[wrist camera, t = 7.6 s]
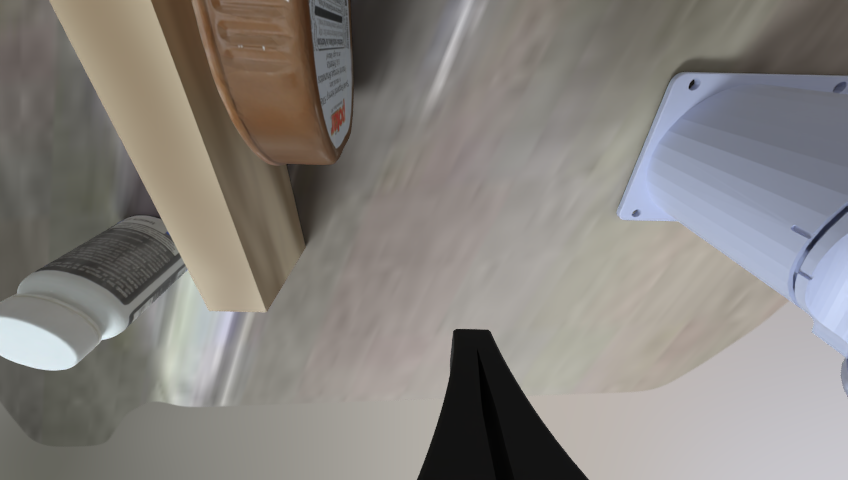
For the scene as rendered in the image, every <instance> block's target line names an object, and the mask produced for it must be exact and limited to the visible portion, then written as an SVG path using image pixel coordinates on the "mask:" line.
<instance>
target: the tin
mask: <svg viewBox="0 0 848 480" xmlns="http://www.w3.org/2000/svg"><path fill="white" fill-rule="evenodd" d="M192 4H193V8H194V12H195V16H196V20H197V24H198V28H199V32H200V36H201V39H202V43H203V46H204V49H205V53H206V56H207V59H208V63H209V66H210V69H211V72H212V75H213V79H214V81H215V84H216V87H217V90H218V92H219V94H220V97H221V99H222V101H223V103H224V105H225V107H226V109H227V112H228V114H229V116H230V118H231V120H232V122H233V124H234V126H235V127H236V129H237V130H238V132H239V133H240V135H241V137H242V138H243V140H244V141H245V143H246V144H247V145H248V146H249V147H250V149H251V150H252V152H254V153H255V154H256V155H257V156H258V157H259V158H260V159H262V160H263V161H265V162H266V163H268V164H270V165H275V166H281V165H285V164H309V165H331V164H334V163H335V162H336V161H337V160H338V159H339V157H340V155H341V153H342V151H343V148H344V146H345V145H346V143H347V141H348V139H349V136H350V133H351V127H352V116H353V90H354V82H353V50H352V30H351V6H350V0H192Z"/></svg>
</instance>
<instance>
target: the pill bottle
mask: <svg viewBox="0 0 848 480" xmlns="http://www.w3.org/2000/svg"><path fill="white" fill-rule="evenodd" d="M187 270H188V269H187V267H186V265H185V263H184V261H183V259H182V257H181V255H180V253H179V252H178V250H177V248H176V246H175V244H174V242H173V240H172V238H171V236H170V234H169V232H168V230H167V228H166V226H165V224H164V222H163V220H162V219H159V218H156V217H151V216H141V215H137V216H132V217H129V218H127V219H125V220H123V221H121V222H119V223H117V224H116V225H114V226H112V227H111V228H109V229H108V230H106V231H104V232H102V233H101V234H99V235H97V236H95V237H94V238H92V239H90V240H89V241H87V242H85V243H83V244H82V245H80V246H78V247H77V248H75V249H73V250H72V251H70V252H68V253H66V254H65V255H63V256H61V257H60V258H58V259H56V260H55V261H53V262H51V263H49V264H48V265H46V266H44V267H43V268H41V269H39V270H37V271H35V272H33V273H32V274H30V275H29V276H28V277H26V278H25V279H24V280H23V281H22V282H21V283H20V285H19V287H18V290H17V294H16V295H13V296H11V297H9V298H7V299H5V300H3V301H1V302H0V355H1V356H2V357H4V358H6V359H9V360H11V361H13V362H16V363H19V364H22V365H26V366H29V367H33V368H37V369H43V370H64V369H68V368H71V367H73V366H74V365H76V364H77V363H78V362H79V361H80V360H82V359H83V358H84V357H85V356H86V355H87V354H88V353H89V352H90V351H92V350H93V349H94V348H95V347H96V345H98V344H99V343H100V341H101V340H104V339H108V338H112V337H114V336H116V335H118V334H119V333H121V332H122V331H124V330H125V329H126V328H127V327H128V326H129V325H130V324H131V323H132V322H133V321H134V320H135V319H136V318H137V317H138V316H139V315H140V314H141V313H142V312H144V311H145V310H146V309H147V308H148V307H149V306H150V305H151V304H152V303H153V302H154V301H155V300H156V299H157V298H158V297H159V296H160V295H161V294H162V293H164V292H165V291H166V290H167V289H168V288H169V287H170V286H171V285H172V284H173V283H174V282H175V281H176V280H177V279H178V278H180V277H181V276H182V274H184V273H185V272H186V271H187Z"/></svg>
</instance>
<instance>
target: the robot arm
mask: <svg viewBox="0 0 848 480" xmlns="http://www.w3.org/2000/svg"><path fill="white" fill-rule="evenodd" d="M692 80H695V82H694V85H693V86H692V87H691V88H690V89H689V88H688V87H689V84H690V82H691V81H692ZM836 85H837V86H836ZM835 86H836V88H835V89H834V87H835ZM833 89H834V90H833ZM635 210H637V211H636V212H635V213H634V214H632V213H633V211H635ZM617 216H619V217H620V218H621V219H623V220H650V221H678V222H680V223H681V224H683V225H684V226H685V227H687V228H688V229H690V230H691V231H692V232H694V233H695V234H697V235H698V236H699V237H701V238H702V239H704V240H705V241H706V242H708V243H709V244H711V245H712V246H714V247H715V248H716V249H718V250H719V251H721V252H722V253H723V254H725V255H726V256H728V257H729V258H730V259H732V260H733V261H735V262H736V263H737V264H739V265H740V266H742V267H743V268H744V269H746V270H747V271H749V272H750V273H752V274H753V275H754V276H756V277H757V278H759V279H760V280H761V281H763V282H764V283H766V284H767V285H768V286H770V287H771V288H773V289H774V290H775V291H777V292H778V293H780V294H781V295H782V296H784V297H785V298H787V299H788V300H790V301H791V302H792V303H794V304H795V305H797V306H798V307H800V308H801V309H803V310H804V311H805V312H806V313H807V314H809V315H810V316H811V317H812V318H813V321H814V326H813V328H812V333H814V334H815V335H816V336H818V337H819V338H821V339H822V340H823V341H824V342H826V343H827V344H828V345H830V346H831V347H833V348H834V349H835V350H836V351H838V352H839V353H840V354H842V355H843V356H844V357H846V358H845V359H844V361H843V363H842V368H841V379H842V384H843V388H844V391H845V392H846V395H847V397H848V76H841V75H797V74H753V73H708V72H681V73H678V74H677V75H675V76H674V77H673V78H672V79H671V81H670V83H669V85H668V87H667V90H666V92H665V94H664V97H663V99H662V102H661V104H660V107H659V109H658V112H657V114H656V116H655V119H654V121H653V124H652V126H651V129H650V131H649V134H648V136H647V138H646V141H645V143H644V146H643V148H642V151H641V153H640V156H639V158H638V160H637V163H636V165H635V168H634V170H633V173H632V175H631V178H630V180H629V182H628V185H627V187H626V190H625V192H624V195H623V197H622V200H621V202H620V204H619V207H618V209H617ZM417 480H589V479H588V478H587V477H586V476H585V475H584V473H583V472H582V471H581V470H580V469H579V468H578V466H577V465H576V464H575V463H574V462H573V461H572V459H571V458H570V457H569V456H568V454H567V453H566V452H565V451H564V449H563V448H562V447H561V446H560V444H559V443H558V442H557V440H556V439H555V438H554V436H553V435H552V434H551V432H550V431H549V430H548V428H547V427H546V426H545V424H544V423H543V421H542V420H541V419H540V417H539V416H538V414H537V413H536V411H535V410H534V408H533V407H532V405H531V404H530V402H529V401H528V399H527V398H526V396H525V394H524V393H523V391H522V390H521V388H520V386H519V385H518V383H517V381H516V380H515V378H514V376H513V375H512V373H511V371H510V369H509V368H508V366H507V364H506V362H505V360H504V359H503V357H502V355H501V353H500V351H499V349H498V347H497V345H496V343H495V341H494V338H493V336H492V334H491V332H490V331H489V330H477V329H456V330H454V331H453V339H452V348H451V358H450V377H449V382H448V386H447V390H446V394H445V398H444V403H443V406H442V410H441V413H440V416H439V420H438V423H437V426H436V429H435V432H434V435H433V438H432V441H431V444H430V447H429V450H428V453H427V455H426V458H425V461H424V464H423V466H422V469H421V471H420V474H419V476H418V479H417Z"/></svg>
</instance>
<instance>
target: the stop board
mask: <svg viewBox="0 0 848 480" xmlns="http://www.w3.org/2000/svg"><path fill="white" fill-rule="evenodd" d="M49 1H50V3H51V5H52V7H53V9H54V11H55V12H56V14H57V16H58V18H59V20H60V22H61V24H62V26H63V28H64V30H65V32H66V34H67V36H68V38H69V40H70V42H71V44H72V46H73V47H74V49H75V51H76V53H77V55H78V57H79V59H80V61H81V63H82V65H83V67H84V69H85V71H86V73H87V75H88V77H89V79H90V81H91V82H92V84H93V86H94V88H95V90H96V92H97V94H98V96H99V98H100V100H101V102H102V104H103V106H104V108H105V110H106V112H107V114H108V116H109V117H110V119H111V121H112V123H113V125H114V127H115V129H116V131H117V133H118V135H119V137H120V139H121V141H122V143H123V145H124V147H125V149H126V150H127V152H128V154H129V156H130V158H131V160H132V162H133V164H134V166H135V168H136V170H137V172H138V174H139V176H140V178H141V180H142V182H143V184H144V185H145V187H146V189H147V191H148V193H149V195H150V197H151V199H152V201H153V203H154V205H155V207H156V209H157V211H158V213H159V215H160V217H161V219H162V220H163V222H164V224H165V226H166V228H167V230H168V232H169V234H170V236H171V238H172V240H173V242H174V244H175V246H176V248H177V250H178V252H179V253H180V255H181V257H182V259H183V261H184V263H185V265H186V267H187V269H188V271H189V273H190V275H191V277H192V279H193V281H194V283H195V285H196V287H197V288H198V290H199V292H200V294H201V296H202V298H203V300H204V302H205V304H206V306H207V308H208V310H209V311H233V312H267V311H268V309H269V307H270V306H271V304H272V302H273V301H274V299H275V297H276V296H277V294H278V293H279V291H280V289H281V288H282V286H283V284H284V283H285V281H286V279H287V278H288V276H289V274H290V273H291V271H292V269H293V268H294V266H295V264H296V263H297V261H298V259H299V258H300V256H301V254H302V253H303V251H304V249H305V248H306V246H305V242H304V238H303V233H302V229H301V225H300V221H299V216H298V212H297V208H296V204H295V199H294V195H293V191H292V186H291V182H290V178H289V174H288V169H287V165H286V164H285V165H281V166H275V165H270V164H268V163H266V162H265V161H263V160H262V159H260V158H259V157H258V156H257V155H256V154H255V153H254V152H252V150H251V149H250V147H249V146H248V145H247V144H246V143H245V141H244V140H243V138H242V137H241V135H240V133H239V132H238V130H237V129H236V127H235V126H234V124H233V122H232V120H231V118H230V116H229V114H228V112H227V109H226V107H225V105H224V103H223V101H222V99H221V97H220V94H219V92H218V90H217V87H216V84H215V81H214V79H213V75H212V72H211V69H210V66H209V63H208V59H207V56H206V53H205V49H204V46H203V43H202V39H201V36H200V32H199V28H198V24H197V20H196V16H195V12H194V8H193V4H192V0H49Z"/></svg>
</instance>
